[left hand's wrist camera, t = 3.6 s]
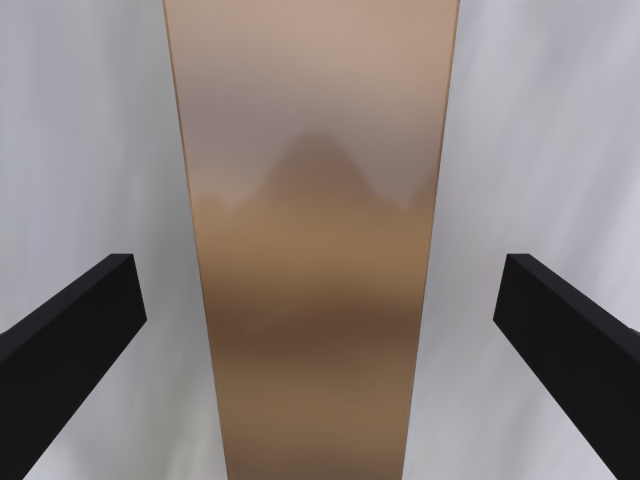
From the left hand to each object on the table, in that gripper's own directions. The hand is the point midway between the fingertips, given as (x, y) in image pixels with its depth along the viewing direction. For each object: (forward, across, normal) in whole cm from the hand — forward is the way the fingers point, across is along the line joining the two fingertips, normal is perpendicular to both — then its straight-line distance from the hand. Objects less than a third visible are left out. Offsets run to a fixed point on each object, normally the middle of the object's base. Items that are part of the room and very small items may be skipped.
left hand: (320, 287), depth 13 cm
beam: (+6, 0, -24) cm, 24 cm away
